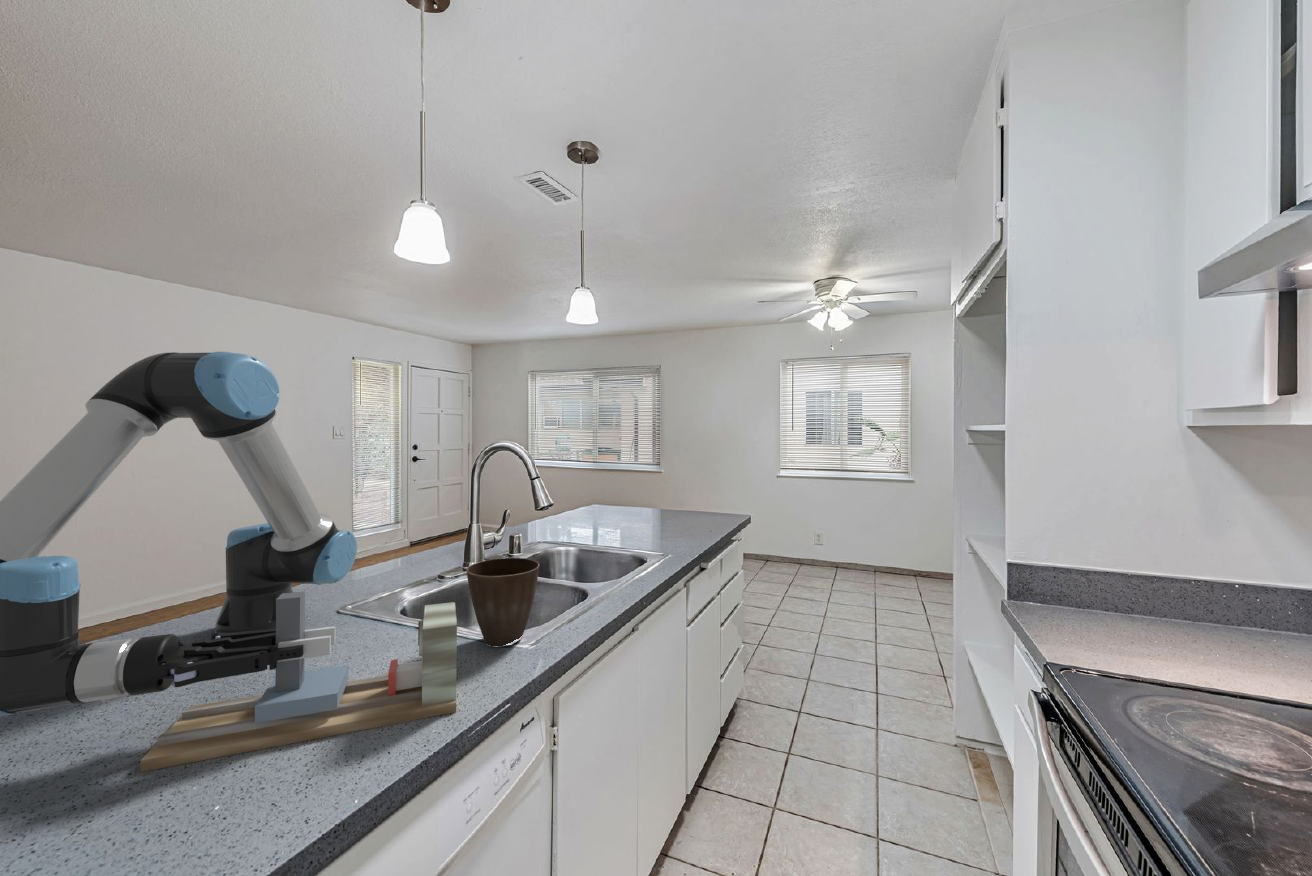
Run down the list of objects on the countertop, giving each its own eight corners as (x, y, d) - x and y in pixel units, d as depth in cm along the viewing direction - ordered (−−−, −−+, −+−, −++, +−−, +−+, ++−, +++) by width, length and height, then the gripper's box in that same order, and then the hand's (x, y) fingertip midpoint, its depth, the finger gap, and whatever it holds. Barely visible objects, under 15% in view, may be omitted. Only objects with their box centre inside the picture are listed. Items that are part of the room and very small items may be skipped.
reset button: (391, 683, 85) (391, 659, 85) (436, 676, 88) (436, 653, 87) (388, 698, 80) (388, 673, 80) (436, 689, 83) (436, 665, 83)
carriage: (276, 690, 81) (276, 588, 80) (348, 679, 84) (349, 581, 84) (254, 723, 71) (255, 608, 71) (337, 709, 75) (338, 599, 75)
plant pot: (492, 662, 97) (493, 580, 97) (451, 642, 107) (452, 567, 107) (552, 639, 109) (553, 565, 109) (511, 622, 118) (512, 554, 118)
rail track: (189, 716, 78) (190, 629, 78) (454, 673, 93) (454, 600, 93) (140, 772, 65) (141, 668, 65) (456, 712, 80) (457, 627, 80)
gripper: (163, 667, 77) (341, 643, 87) (98, 724, 62) (321, 688, 72) (163, 619, 77) (341, 600, 87) (98, 664, 62) (322, 635, 72)
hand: (332, 640), depth 79 cm, fingers open, 3 cm apart
